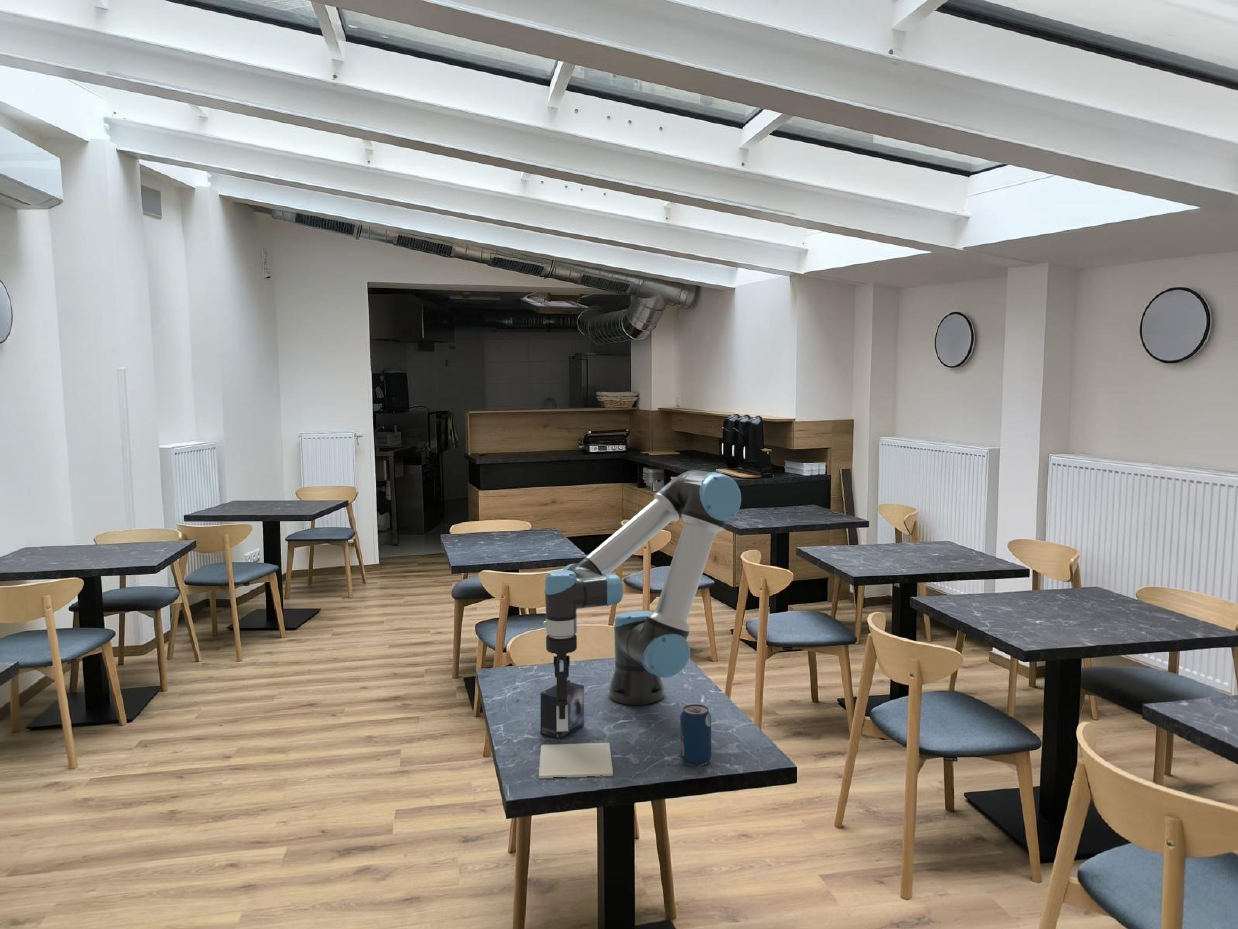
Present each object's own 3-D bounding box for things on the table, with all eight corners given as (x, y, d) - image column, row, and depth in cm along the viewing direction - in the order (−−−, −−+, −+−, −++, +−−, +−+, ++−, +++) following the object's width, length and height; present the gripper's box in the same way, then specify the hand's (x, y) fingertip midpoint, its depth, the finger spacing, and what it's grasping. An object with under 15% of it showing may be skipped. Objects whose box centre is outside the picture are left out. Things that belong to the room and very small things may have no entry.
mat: (609, 745, 197) (609, 742, 197) (612, 775, 181) (612, 773, 181) (541, 747, 196) (541, 745, 196) (538, 778, 180) (538, 775, 180)
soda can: (717, 760, 188) (717, 708, 187) (697, 770, 184) (697, 717, 183) (693, 751, 193) (693, 701, 192) (674, 761, 188) (673, 709, 187)
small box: (560, 740, 200) (560, 697, 199) (539, 734, 204) (538, 692, 203) (585, 725, 209) (585, 684, 208) (564, 720, 213) (563, 679, 212)
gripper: (547, 621, 216) (548, 703, 218) (544, 649, 192) (546, 741, 194) (576, 620, 217) (577, 702, 219) (577, 648, 193) (578, 740, 195)
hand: (562, 720), depth 206 cm, fingers closed on small box, 12 cm apart
